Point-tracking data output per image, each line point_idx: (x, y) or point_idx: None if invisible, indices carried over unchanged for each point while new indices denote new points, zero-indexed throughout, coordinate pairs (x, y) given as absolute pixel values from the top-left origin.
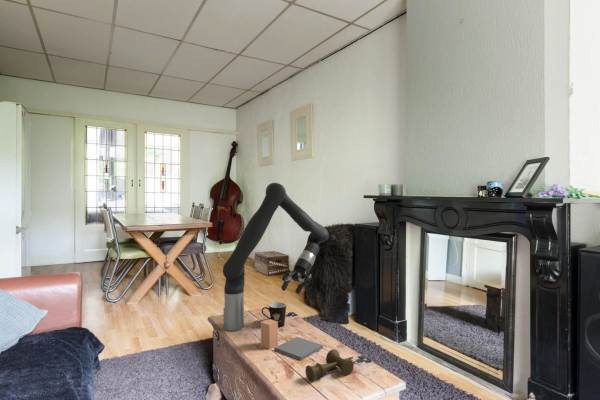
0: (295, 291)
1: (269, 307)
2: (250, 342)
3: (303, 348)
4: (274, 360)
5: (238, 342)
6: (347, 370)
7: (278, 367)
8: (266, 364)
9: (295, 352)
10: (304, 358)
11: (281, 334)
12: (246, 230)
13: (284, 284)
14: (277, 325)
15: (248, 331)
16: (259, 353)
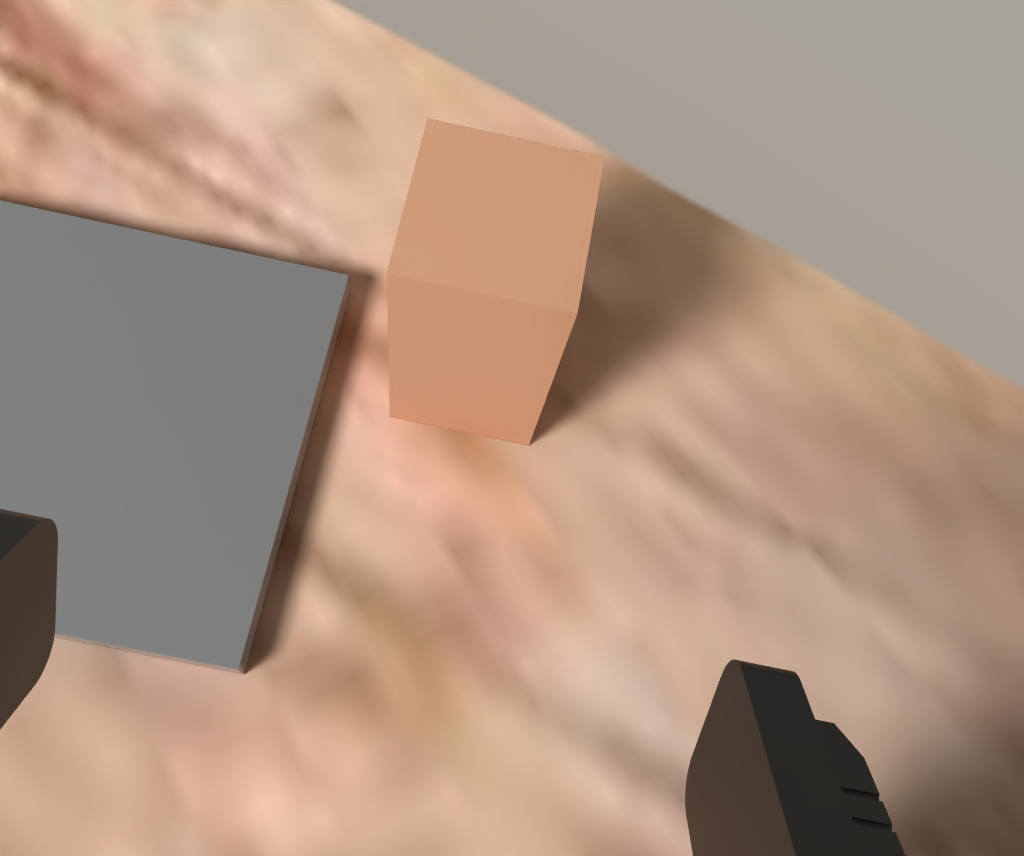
0: (50, 519)
1: None
2: (718, 351)
3: (6, 380)
4: (239, 121)
5: (828, 300)
6: None
7: (137, 33)
8: (270, 40)
9: (63, 260)
10: None
11: (535, 732)
12: None
13: (775, 787)
14: (389, 297)
15: (978, 609)
16: None
